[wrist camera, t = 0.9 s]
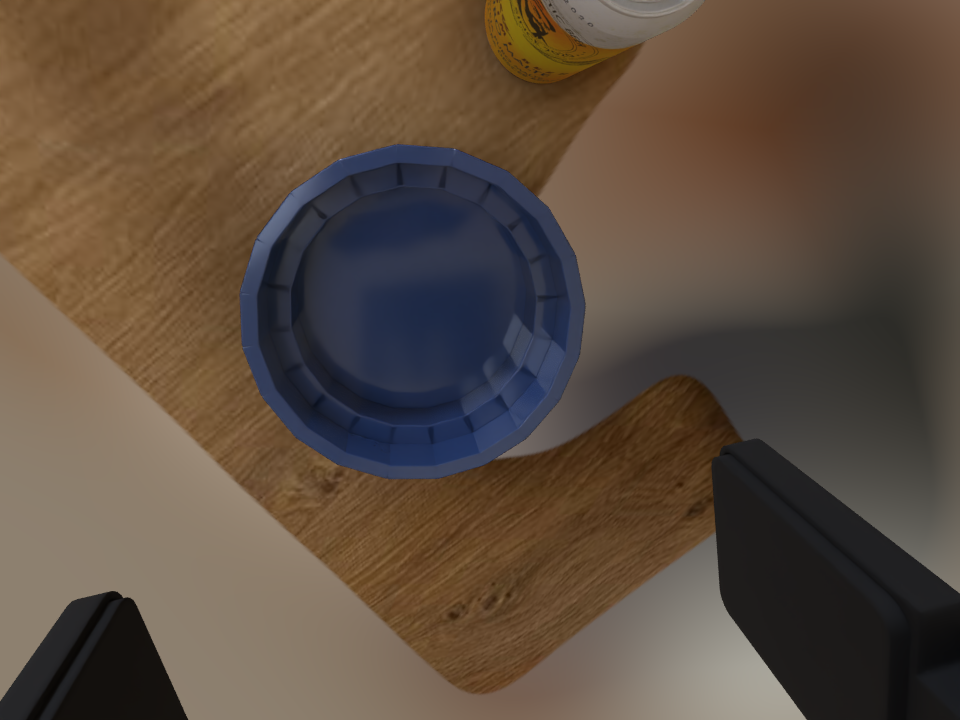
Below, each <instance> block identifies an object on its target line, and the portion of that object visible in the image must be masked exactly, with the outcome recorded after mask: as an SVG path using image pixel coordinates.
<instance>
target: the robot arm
mask: <svg viewBox="0 0 960 720" xmlns="http://www.w3.org/2000/svg"><path fill="white" fill-rule="evenodd" d="M712 480H713V495H714V510H715V525H716V539H717V554H718V569H719V584H720V593H721V597H722V600H723V603H724V606H725V607H726V610H727V611H728V613H729V615H730V616H731V617H732V619H733V620H734V621H735V623H736V624H737V625H738V627H739V628H740V630H741V631H742V632H743V633H744V635H745V636H746V638H747V639H748V640H749V642H750V643H751V644H752V646H753V647H754V648H755V650H756V651H757V652H758V654H759V655H760V657H761V658H762V659H763V661H764V662H765V663H766V665H767V666H768V668H769V669H770V670H771V672H772V673H773V674H774V676H775V677H776V678H777V680H778V681H779V682H780V684H781V685H782V686H783V688H784V689H785V690H786V692H787V693H788V695H789V696H790V697H791V699H792V700H793V701H794V703H795V704H796V705H797V707H798V708H799V710H800V711H801V712H802V714H803V715H804V716H805V718H806V719H807V720H960V593H958V592H957V591H956V590H954V589H953V588H952V587H951V586H949V585H948V584H947V583H945V582H944V581H943V580H942V579H940V578H939V577H938V576H936V575H935V574H934V573H932V572H931V571H930V570H929V569H927V568H926V567H925V566H923V565H922V564H921V563H919V562H918V561H917V560H916V559H914V558H913V557H912V556H910V555H909V554H908V553H906V552H905V551H904V550H903V549H901V548H900V547H899V546H897V545H896V544H895V543H894V542H892V541H891V540H890V539H888V538H887V537H886V536H884V535H883V534H882V533H881V532H880V531H878V530H877V529H875V528H874V527H873V526H872V525H870V524H869V523H868V522H867V521H865V520H864V519H863V518H861V517H860V516H859V515H858V514H856V513H855V512H854V511H852V510H851V509H850V508H848V507H847V506H846V505H845V504H843V503H842V502H841V501H839V500H838V499H837V498H836V497H834V496H833V495H832V494H830V493H829V492H828V491H826V490H825V489H824V488H823V487H821V486H820V485H819V484H818V483H816V482H815V481H814V480H812V479H811V478H810V477H809V476H807V475H806V474H804V473H803V472H802V471H801V470H799V469H798V468H797V467H796V466H794V465H793V464H791V463H790V462H789V461H788V460H786V459H785V458H784V457H783V456H781V455H780V454H779V453H777V452H776V451H775V450H774V449H772V448H771V447H770V446H768V445H767V444H766V443H765V442H763V441H762V440H760V439H752V440H748V441H743V442H739V443H735V444H731V445H726V446H723V447H722V448H721V451H720V456H719V457H715V458H714V459H713V460H712ZM0 720H188V718H187V716H186V714H185V712H184V710H183V707H182V705H181V703H180V701H179V699H178V696H177V694H176V692H175V690H174V687H173V685H172V683H171V681H170V679H169V676H168V674H167V673H166V670H165V668H164V666H163V663H162V661H161V659H160V656H159V654H158V652H157V650H156V648H155V645H154V643H153V641H152V639H151V636H150V634H149V632H148V630H147V628H146V626H145V623H144V621H143V619H142V617H141V614H140V612H139V610H138V608H137V606H136V604H135V602H134V601H133V600H132V599H131V598H128V597H127V598H123V597H122V595H120V594H119V593H118V592H115V591H110V592H106V593H102V594H98V595H94V596H89V597H85V598H81V599H77V600H74V601H72V602H71V603H70V604H69V605H68V606H67V607H66V609H65V610H64V612H63V613H62V614H61V616H60V617H59V619H58V620H57V621H56V623H55V624H54V626H53V627H52V629H51V630H50V631H49V633H48V634H47V636H46V637H45V639H44V640H43V641H42V643H41V644H40V646H39V647H38V648H37V650H36V651H35V653H34V654H33V656H32V657H31V658H30V660H29V661H28V663H27V664H26V665H25V667H24V668H23V670H22V671H21V673H20V674H19V676H18V677H17V678H16V680H15V681H14V683H13V684H12V686H11V687H10V688H9V690H8V691H7V693H6V694H5V696H4V697H3V698H2V700H1V701H0Z"/></svg>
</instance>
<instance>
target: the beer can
mask: <svg viewBox="0 0 960 720" xmlns="http://www.w3.org/2000/svg"><path fill="white" fill-rule="evenodd" d="M704 1H705V0H487V1H486V6H485V27H486V33H487V37H488V41H489V43H490V46H491V48H492V50H493V52H494V54H495V56H496V57H497V59H498V60H499V61H500V63H501V64H502V65H503V66H504V67H505V68H506V69H507V70H508V71H510V72H511V73H512V74H514V75H515V76H517V77H519V78H521V79H523V80H525V81H529V82H533V83H541V84H545V83H553V82H557V81H560V80H563V79H565V78H567V77H570V76H572V75H574V74H576V73H578V72H580V71H582V70H585V69H587V68H589V67H591V66H593V65H595V64H597V63H600V62H602V61H604V60H606V59H608V58H610V57H612V56H615V55H617V54H619V53H621V52H623V51H625V50H627V49H630V48H632V47H634V46H636V45H638V44H640V43H642V42H645V41H647V40H649V39H651V38H653V37H655V36H657V35H660V34H662V33H664V32H666V31H668V30H670V29H672V28H674V27H676V26H677V25H679V24H680V23H682V22H684V21H685V20H686V19H687V18H689V17H690V16H691V15H692V14H693V13H694V12H695V11H696V10H697V9H698V8H699V7H700V6H701V5H702V3H703V2H704Z"/></svg>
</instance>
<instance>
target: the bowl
mask: <svg viewBox="0 0 960 720" xmlns="http://www.w3.org/2000/svg"><path fill="white" fill-rule="evenodd" d="M240 314H241V337H242V346H243V351H244V353H245V356H246V358H247V361H248V364H249V366H250V369H251V371H252V374H253V376H254V379H255V381H256V384H257V386H258V389H259V392H260V394H261V396H262V397H263V399H264V400H265V401H266V403H267V404H268V405H269V406H270V407H271V409H272V410H273V411H274V412H275V413H276V415H277V416H278V417H279V418H280V419H281V421H282V422H283V423H284V424H285V425H286V427H287V428H288V429H289V430H290V431H291V433H292V434H293V435H294V436H295V437H296V438H297V439H299V440H300V441H302V442H303V443H305V444H306V445H308V446H309V447H311V448H313V449H314V450H316V451H317V452H319V453H320V454H322V455H323V456H325V457H326V458H328V459H330V460H331V461H333V462H334V463H336V464H337V465H341V466H344V467H348V468H351V469H355V470H358V471H361V472H365V473H368V474H372V475H375V476H379V477H382V478H388V479H437V478H438V479H439V478H443V477H446V476H449V475H453V474H456V473H460V472H463V471H466V470H470V469H473V468H477V467H480V466H484V465H485V464H487V463H489V462H491V461H492V460H494V459H495V458H497V457H498V456H500V455H502V454H503V453H505V452H506V451H508V450H509V449H511V448H513V447H514V446H516V445H517V444H519V443H520V442H522V441H524V440H525V439H526V437H528V436H529V435H530V434H531V433H532V432H533V431H534V430H535V428H536V427H537V426H538V425H539V424H540V423H541V421H542V420H543V419H544V418H545V417H546V416H547V415H548V413H549V412H550V411H551V410H552V409H553V407H555V405H556V404H557V403H558V402H559V400H560V399H561V396H562V394H563V392H564V390H565V387H566V385H567V383H568V381H569V379H570V376H571V374H572V372H573V369H574V367H575V365H576V363H577V361H578V358H579V355H580V349H581V341H582V333H583V324H584V316H585V299H584V294H583V289H582V284H581V280H580V274H579V269H578V264H577V259H576V255H575V253H574V251H573V249H572V248H571V246H570V244H569V242H568V240H567V239H566V237H565V235H564V233H563V232H562V230H561V228H560V226H559V225H558V223H557V221H556V219H555V218H554V216H553V214H552V212H551V211H550V209H549V207H548V206H546V205H545V204H544V203H543V202H542V201H541V200H540V199H539V198H537V197H536V196H535V195H534V194H533V193H532V192H531V191H530V190H528V189H527V188H526V187H525V186H524V185H523V184H522V183H521V182H520V181H518V180H517V179H516V178H515V177H514V176H513V175H512V174H511V173H509V172H508V171H506V170H504V169H502V168H499V167H497V166H495V165H492V164H490V163H488V162H485V161H483V160H481V159H478V158H476V157H474V156H471V155H469V154H467V153H464V152H462V151H459V150H457V149H454V148H441V147H428V146H414V145H401V144H397V145H391V146H387V147H384V148H380V149H376V150H372V151H368V152H365V153H361V154H357V155H353V156H349V157H346V158H342V159H340V160H337V161H336V162H334V163H333V164H331V165H330V166H328V167H327V168H325V169H324V170H322V171H321V172H319V173H318V174H316V175H315V176H313V177H312V178H310V179H309V180H307V181H306V182H304V183H303V184H301V185H300V186H298V187H297V188H295V189H294V190H293V191H291V193H289V194H288V196H287V197H286V198H285V200H284V201H283V203H282V204H281V205H280V207H279V208H278V209H277V211H276V212H275V213H274V215H273V216H272V217H271V219H270V220H269V221H268V223H267V224H266V225H265V227H264V228H263V229H262V231H261V232H260V234H259V235H258V236H257V239H256V240H255V243H254V246H253V250H252V253H251V256H250V259H249V263H248V266H247V269H246V273H245V276H244V279H243V282H242V286H241V289H240Z"/></svg>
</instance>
